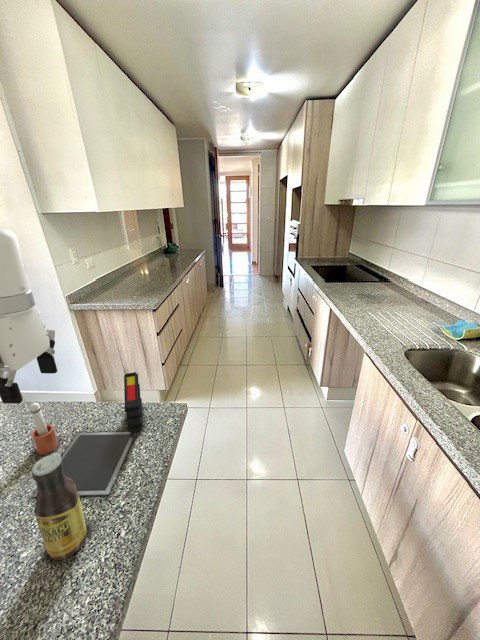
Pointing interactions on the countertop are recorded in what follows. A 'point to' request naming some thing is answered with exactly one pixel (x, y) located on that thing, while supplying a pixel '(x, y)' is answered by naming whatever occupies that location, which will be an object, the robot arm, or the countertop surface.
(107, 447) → the tablet
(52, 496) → the sauce bottle
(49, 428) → the holder
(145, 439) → the countertop surface
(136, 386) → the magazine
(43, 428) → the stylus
